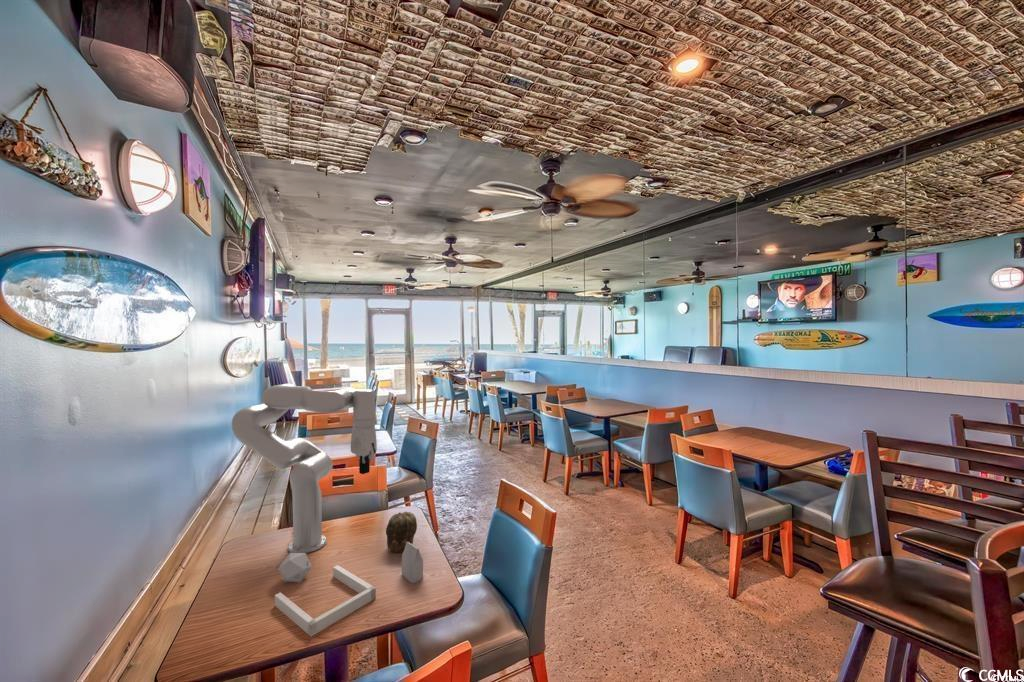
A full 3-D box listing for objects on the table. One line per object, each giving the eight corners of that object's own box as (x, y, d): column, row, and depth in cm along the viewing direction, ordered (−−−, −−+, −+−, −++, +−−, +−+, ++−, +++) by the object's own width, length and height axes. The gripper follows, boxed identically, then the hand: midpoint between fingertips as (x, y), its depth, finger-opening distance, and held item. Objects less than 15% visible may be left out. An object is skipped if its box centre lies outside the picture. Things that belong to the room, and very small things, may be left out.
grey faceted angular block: (412, 583, 125) (412, 551, 125) (401, 574, 130) (401, 543, 130) (423, 578, 127) (422, 547, 127) (411, 569, 132) (411, 539, 132)
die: (287, 593, 121) (308, 563, 124) (267, 575, 123) (288, 546, 126) (301, 587, 129) (321, 559, 131) (282, 571, 131) (302, 543, 134)
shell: (422, 547, 147) (422, 514, 147) (393, 557, 140) (393, 523, 140) (409, 536, 155) (408, 505, 155) (381, 545, 148) (381, 513, 148)
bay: (274, 605, 115) (274, 595, 115) (337, 574, 130) (337, 565, 130) (311, 636, 102) (310, 624, 102) (375, 598, 118) (375, 587, 118)
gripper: (343, 422, 149) (343, 471, 149) (367, 427, 140) (367, 479, 140) (361, 419, 155) (361, 466, 155) (385, 423, 146) (385, 474, 146)
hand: (364, 472), depth 147 cm, fingers closed
